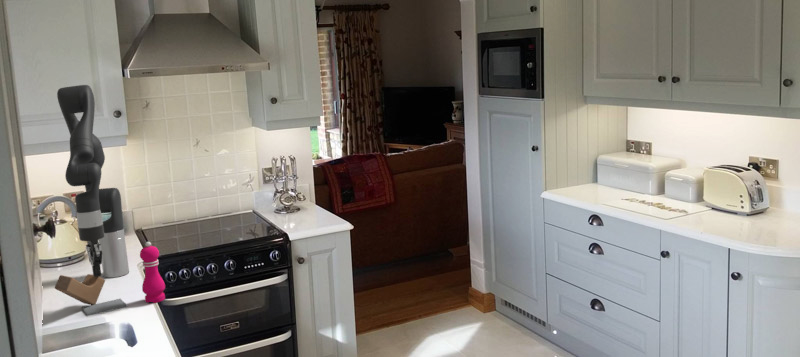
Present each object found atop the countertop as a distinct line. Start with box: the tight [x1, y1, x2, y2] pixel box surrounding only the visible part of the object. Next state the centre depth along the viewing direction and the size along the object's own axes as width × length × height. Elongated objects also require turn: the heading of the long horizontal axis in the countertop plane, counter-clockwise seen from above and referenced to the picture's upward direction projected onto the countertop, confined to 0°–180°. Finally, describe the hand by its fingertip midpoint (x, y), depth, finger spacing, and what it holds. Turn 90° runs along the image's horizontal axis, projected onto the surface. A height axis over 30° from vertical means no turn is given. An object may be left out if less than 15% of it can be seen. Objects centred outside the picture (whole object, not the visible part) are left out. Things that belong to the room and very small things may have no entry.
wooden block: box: [54, 273, 106, 306], centre depth 230 cm, size 9×4×18 cm
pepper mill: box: [139, 241, 166, 304], centre depth 236 cm, size 7×7×20 cm
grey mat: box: [81, 298, 128, 316], centre depth 233 cm, size 8×12×1 cm
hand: (97, 276), depth 235 cm, fingers closed
